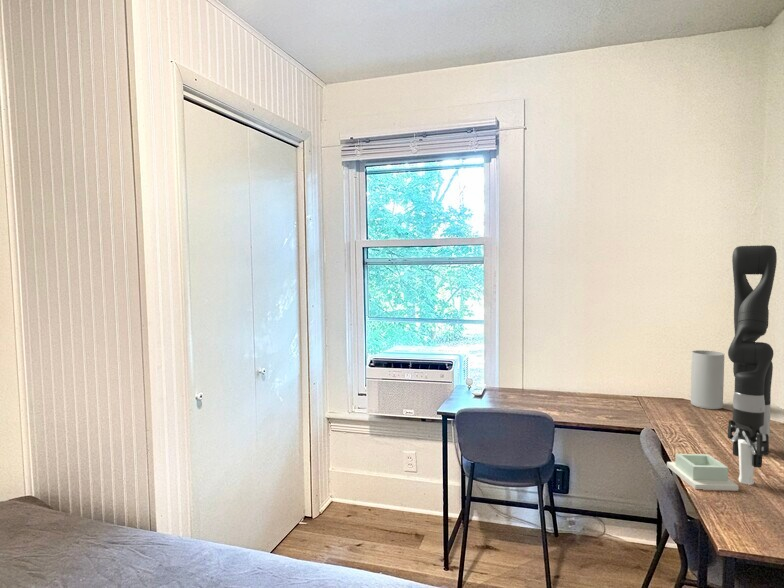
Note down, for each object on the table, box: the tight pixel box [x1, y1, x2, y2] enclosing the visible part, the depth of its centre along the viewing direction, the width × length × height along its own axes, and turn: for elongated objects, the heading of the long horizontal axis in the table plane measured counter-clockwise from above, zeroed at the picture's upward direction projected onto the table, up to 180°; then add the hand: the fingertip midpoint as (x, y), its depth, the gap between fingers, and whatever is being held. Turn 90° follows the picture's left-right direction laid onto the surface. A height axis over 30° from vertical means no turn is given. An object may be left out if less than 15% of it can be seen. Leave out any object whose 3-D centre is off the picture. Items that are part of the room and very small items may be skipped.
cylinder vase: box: [690, 349, 725, 410], centre depth 215 cm, size 12×12×25 cm
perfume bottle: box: [737, 439, 757, 486], centre depth 140 cm, size 5×4×15 cm
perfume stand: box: [666, 453, 740, 492], centre depth 143 cm, size 16×12×6 cm
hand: (746, 460), depth 139 cm, fingers open, 8 cm apart
